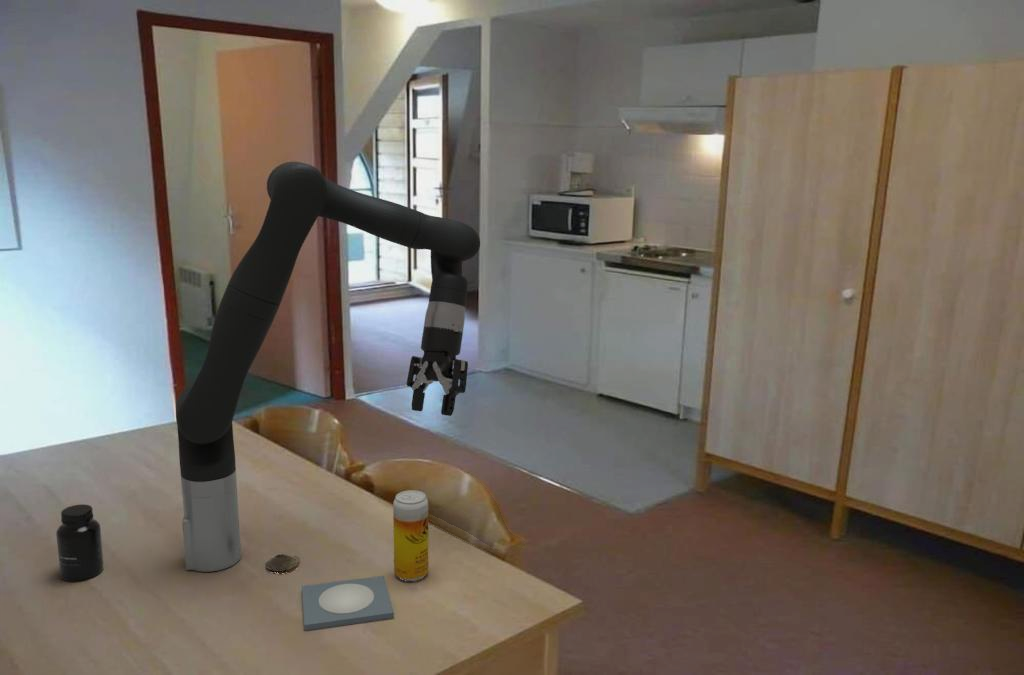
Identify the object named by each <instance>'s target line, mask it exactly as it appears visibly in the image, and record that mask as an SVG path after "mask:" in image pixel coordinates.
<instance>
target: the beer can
mask: <svg viewBox="0 0 1024 675" xmlns="http://www.w3.org/2000/svg"><path fill="white" fill-rule="evenodd" d="M392 506H393V507H392V508H393V509H392V510H393V511H392V512H393V513H392V514H393V570H394V571H393V572H394V574H395V576H397V578H398V577H399V578H401V579H403V580H406V581H405V582H407V581H413V582H417V580H418V581H420V579H421V580H422V579H424V578H425V577H424V576H426V575H427V574H428V573H429V500H428V498H427V494H426V493H425V492H422V491H420V490H415V489H414V490H412V489H410V490H404V491H400V492H399V493H397V494H396V495H395V498H394V499H393V503H392ZM399 578H398V579H399ZM401 579H400V580H401ZM403 580H402V581H403Z"/></svg>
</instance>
